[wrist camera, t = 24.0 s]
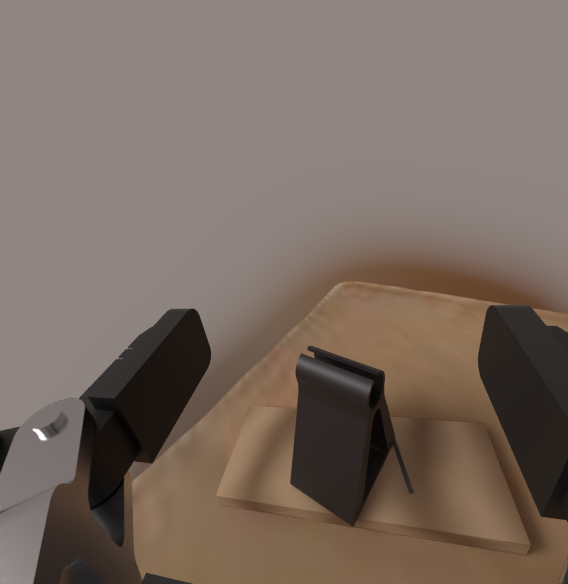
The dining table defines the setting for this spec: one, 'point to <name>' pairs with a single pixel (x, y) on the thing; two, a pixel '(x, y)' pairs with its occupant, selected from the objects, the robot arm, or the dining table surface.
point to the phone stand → (339, 432)
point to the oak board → (388, 482)
